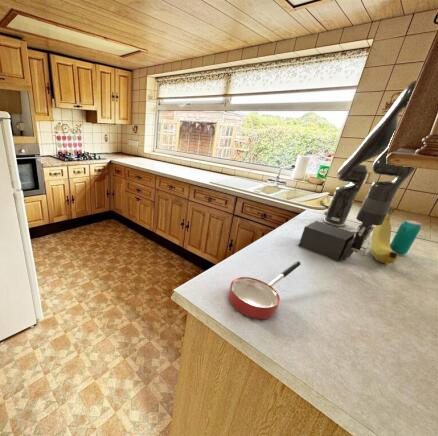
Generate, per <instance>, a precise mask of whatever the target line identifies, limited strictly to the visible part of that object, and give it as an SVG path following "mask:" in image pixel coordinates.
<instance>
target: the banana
mask: <svg viewBox="0 0 438 436" xmlns="http://www.w3.org/2000/svg"><path fill="white" fill-rule="evenodd" d="M394 212H395V207H394V206H390V209H389V211H388V213H387V215H386V217H385V219H384V221H383V223H382V225H375V226H374V229H373V231H372V234H371V240H370V241H371V243H370V245H371V248H370V249H371V254H372V255H373V257H374V259H375V260H376V261H378V262H380V263H381V264H387V265H390V264H391V265H392V264H393V263H395V261H396V260H397V259H398V256H399V255H397V254H396V252H394V251H392V249H391V247H390V244H391V235H392V224H391V223H392V222H391V217H392V215H393V214H394Z"/></svg>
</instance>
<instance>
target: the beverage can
mask: <svg viewBox="0 0 438 436" xmlns="http://www.w3.org/2000/svg"><path fill="white" fill-rule="evenodd" d="M422 226H423V225H422V223H421V222H419V221H415V220H412V219H404V220H403V221H402V222H401V223H400V225H399V227H398V229H397V231H396V233H395V234H394V236H393V239H392V240H391V241H390V247H391V249H392V251H394V252H396V254H397V256H400V257H404V256H405V255H406V254H408V253H409V250H411V249H410V248H411V247H412V245H413V243H414V241H415V240H416V238H417V237H418V234H419V232H420V231H421V229H422Z"/></svg>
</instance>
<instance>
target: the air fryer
mask: <svg viewBox="0 0 438 436" xmlns="http://www.w3.org/2000/svg"><path fill="white" fill-rule="evenodd" d="M355 235H356V232H354V231H351V230H348V229H344V228H342V227H339V226H333V225H330V224H327V223H325V222H321V221H319V220H315V221H313V222H311V223H309V224H307V225H305V226H304V228H303V231H302V234H301V237H300V240H299V243H298V247H299V248H301V249H305V250H308V251H310V252H312V253H315V254H318V255H320V256H323V257H325V258H328V259H331V260H333V261H336V262H339V260H341V257H342V255H343V253H344V252H343V253H342V254H341V252H342V250H343V247H344V245H345V243H346V241H347V240H348V239H350V241H351V240H352V239H353V238H354V237H355Z"/></svg>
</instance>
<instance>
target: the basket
mask: <svg viewBox="0 0 438 436" xmlns="http://www.w3.org/2000/svg"><path fill="white" fill-rule="evenodd" d="M354 239H355V236H354V238H353V239H352V240H351V241H350V239H348V240H347V243H346V245H345V247H344V250H343V251H342V252H341V254H342V253H343V252H344V253H343V255H342V257H341V258H340V261H343V262H345V261H346V260H347V259H348V258H349V257H350V256H351V255H353V253H354V252H356V251H357V252H356V253H361V255H363V256H365V255H367V254H368V253H369V252H370V251H371V248H370V247H368V246H367V247H365V246H362V247H361V249H363V250H361V249H360V250H358V249H355V248H353V245H354V243H355V242H354ZM353 250H355V251H353Z"/></svg>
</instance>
